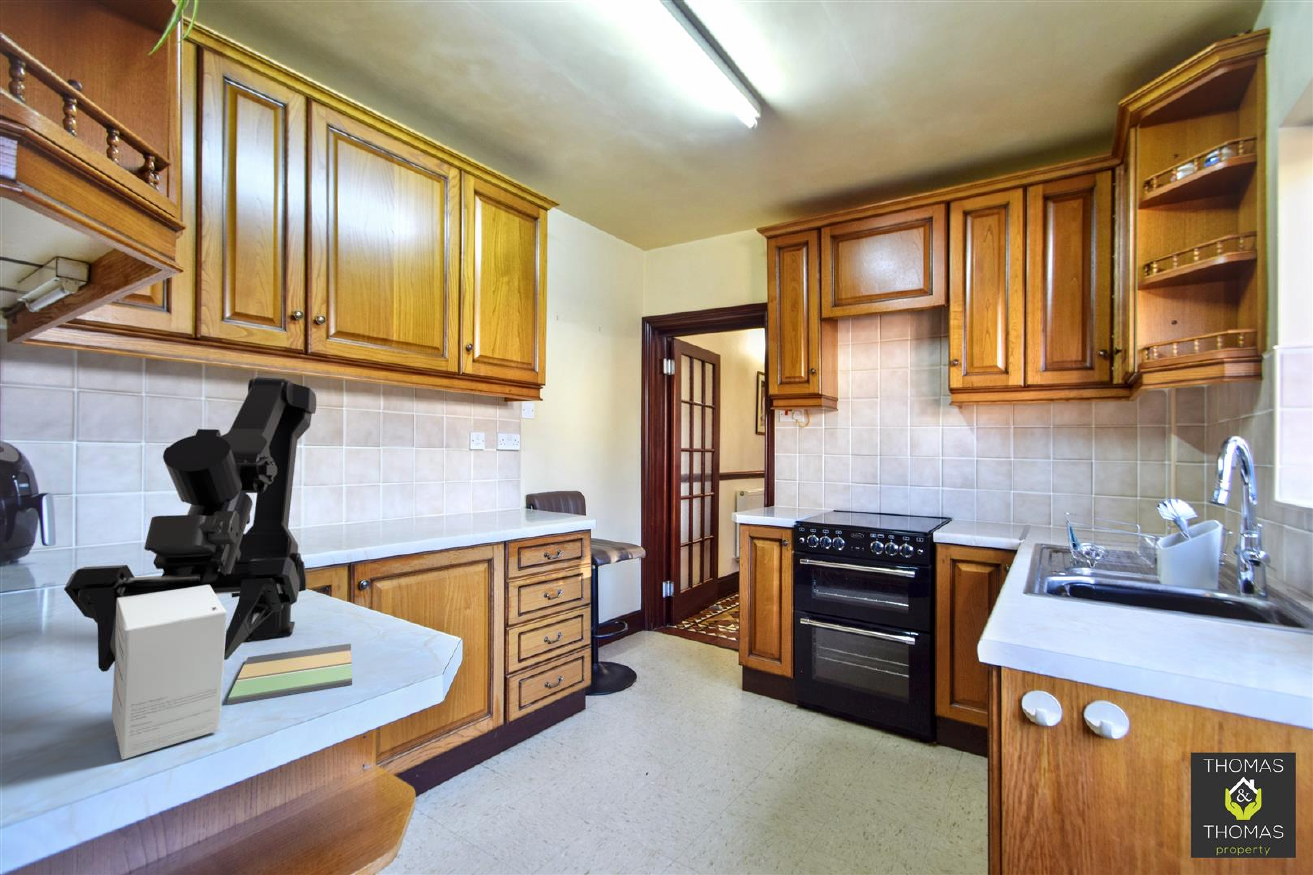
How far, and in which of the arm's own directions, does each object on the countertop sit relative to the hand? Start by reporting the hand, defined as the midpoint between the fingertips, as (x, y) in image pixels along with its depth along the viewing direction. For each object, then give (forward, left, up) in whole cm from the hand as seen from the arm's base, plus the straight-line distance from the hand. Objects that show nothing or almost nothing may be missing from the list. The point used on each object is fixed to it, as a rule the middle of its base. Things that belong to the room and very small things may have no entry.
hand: (164, 663), depth 55 cm
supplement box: (-2, 0, -7) cm, 7 cm away
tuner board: (-14, +10, -7) cm, 19 cm away
